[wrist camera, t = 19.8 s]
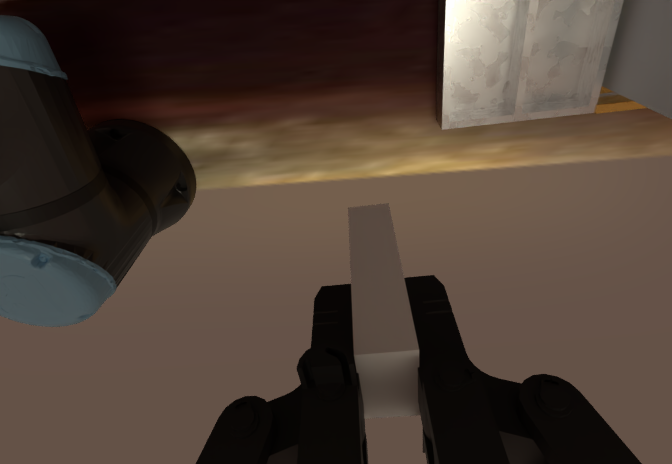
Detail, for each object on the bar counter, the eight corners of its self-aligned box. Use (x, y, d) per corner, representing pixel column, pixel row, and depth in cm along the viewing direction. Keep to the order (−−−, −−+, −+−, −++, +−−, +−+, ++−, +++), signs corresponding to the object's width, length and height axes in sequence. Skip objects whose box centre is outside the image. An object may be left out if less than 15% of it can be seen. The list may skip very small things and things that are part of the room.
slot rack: (435, 119, 46) (442, 130, 43) (440, -78, 36) (448, -82, 33) (652, 95, 44) (675, 104, 41) (726, -124, 33) (764, -133, 30)
